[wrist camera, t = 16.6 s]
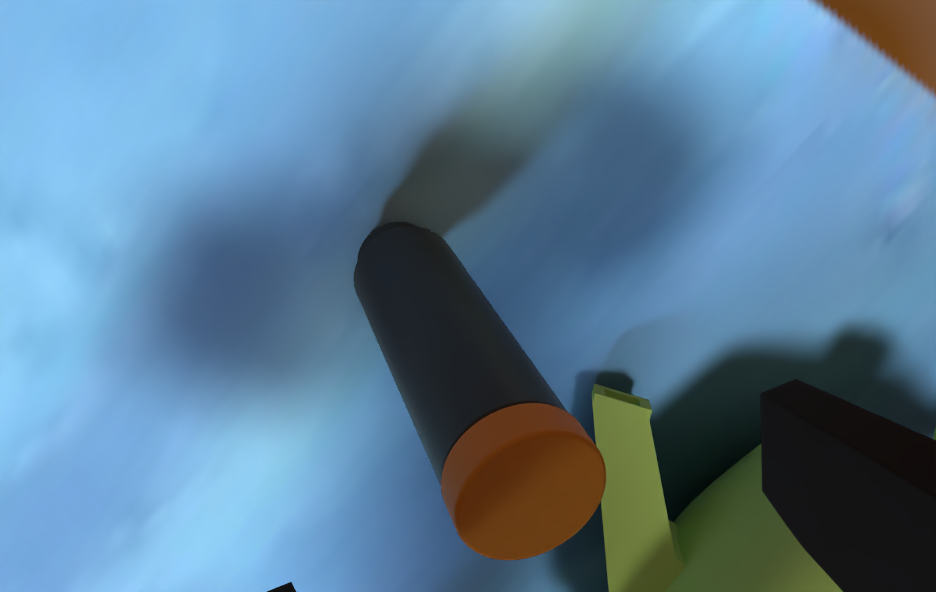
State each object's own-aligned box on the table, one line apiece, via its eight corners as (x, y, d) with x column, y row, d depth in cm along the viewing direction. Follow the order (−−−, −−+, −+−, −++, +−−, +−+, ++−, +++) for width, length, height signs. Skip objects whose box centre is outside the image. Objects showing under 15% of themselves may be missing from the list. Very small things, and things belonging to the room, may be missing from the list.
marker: (448, 272, 20) (616, 525, 13) (354, 305, 20) (473, 585, 13) (425, 185, 19) (599, 409, 12) (325, 218, 19) (438, 472, 11)
